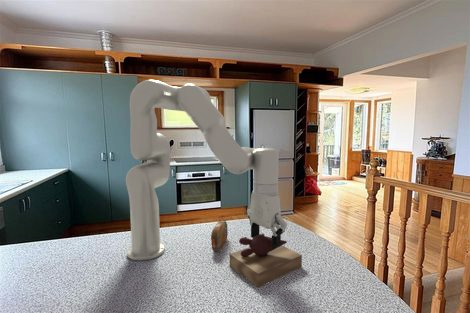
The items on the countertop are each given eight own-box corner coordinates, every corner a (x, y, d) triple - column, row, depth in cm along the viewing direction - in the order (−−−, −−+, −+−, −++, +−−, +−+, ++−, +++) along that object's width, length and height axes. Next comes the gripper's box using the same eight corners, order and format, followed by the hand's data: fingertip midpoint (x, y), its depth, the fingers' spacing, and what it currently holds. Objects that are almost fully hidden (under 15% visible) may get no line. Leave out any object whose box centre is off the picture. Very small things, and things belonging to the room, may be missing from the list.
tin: (218, 256, 87) (218, 232, 87) (209, 255, 88) (209, 231, 87) (228, 238, 102) (228, 218, 101) (220, 237, 103) (220, 217, 102)
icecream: (282, 229, 84) (237, 234, 83) (288, 232, 77) (239, 238, 76) (285, 250, 83) (240, 256, 82) (291, 255, 76) (241, 262, 75)
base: (229, 265, 81) (229, 253, 80) (270, 250, 91) (271, 239, 91) (258, 287, 69) (258, 273, 69) (301, 267, 80) (301, 255, 79)
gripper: (239, 185, 83) (239, 235, 84) (276, 195, 69) (275, 256, 70) (256, 182, 87) (256, 230, 89) (295, 192, 73) (294, 248, 75)
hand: (265, 241), depth 80 cm, fingers open, 9 cm apart
